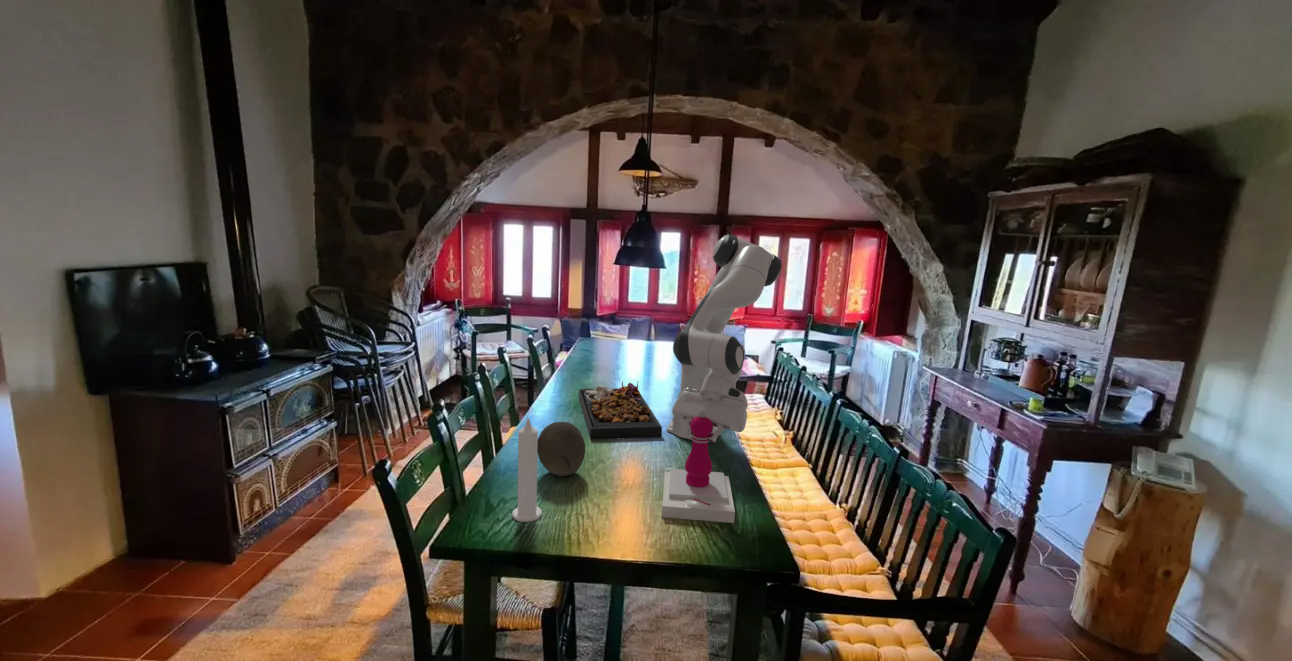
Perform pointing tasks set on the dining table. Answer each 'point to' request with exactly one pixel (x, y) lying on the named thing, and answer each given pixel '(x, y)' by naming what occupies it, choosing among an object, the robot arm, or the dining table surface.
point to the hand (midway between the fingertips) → (700, 438)
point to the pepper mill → (699, 452)
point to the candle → (527, 475)
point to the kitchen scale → (697, 498)
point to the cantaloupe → (561, 448)
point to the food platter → (618, 413)
